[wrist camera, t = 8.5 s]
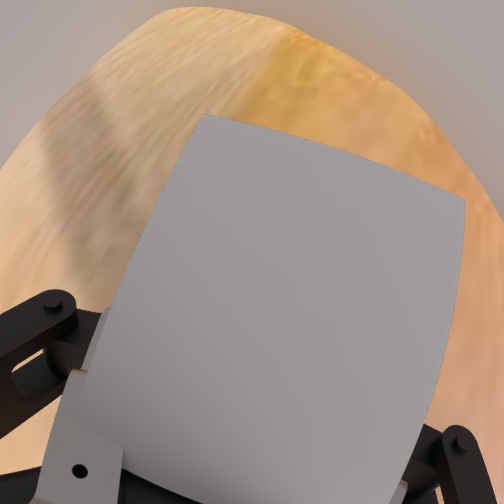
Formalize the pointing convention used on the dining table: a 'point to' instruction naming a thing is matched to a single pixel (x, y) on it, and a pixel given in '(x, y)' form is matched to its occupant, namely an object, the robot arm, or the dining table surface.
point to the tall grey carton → (278, 323)
